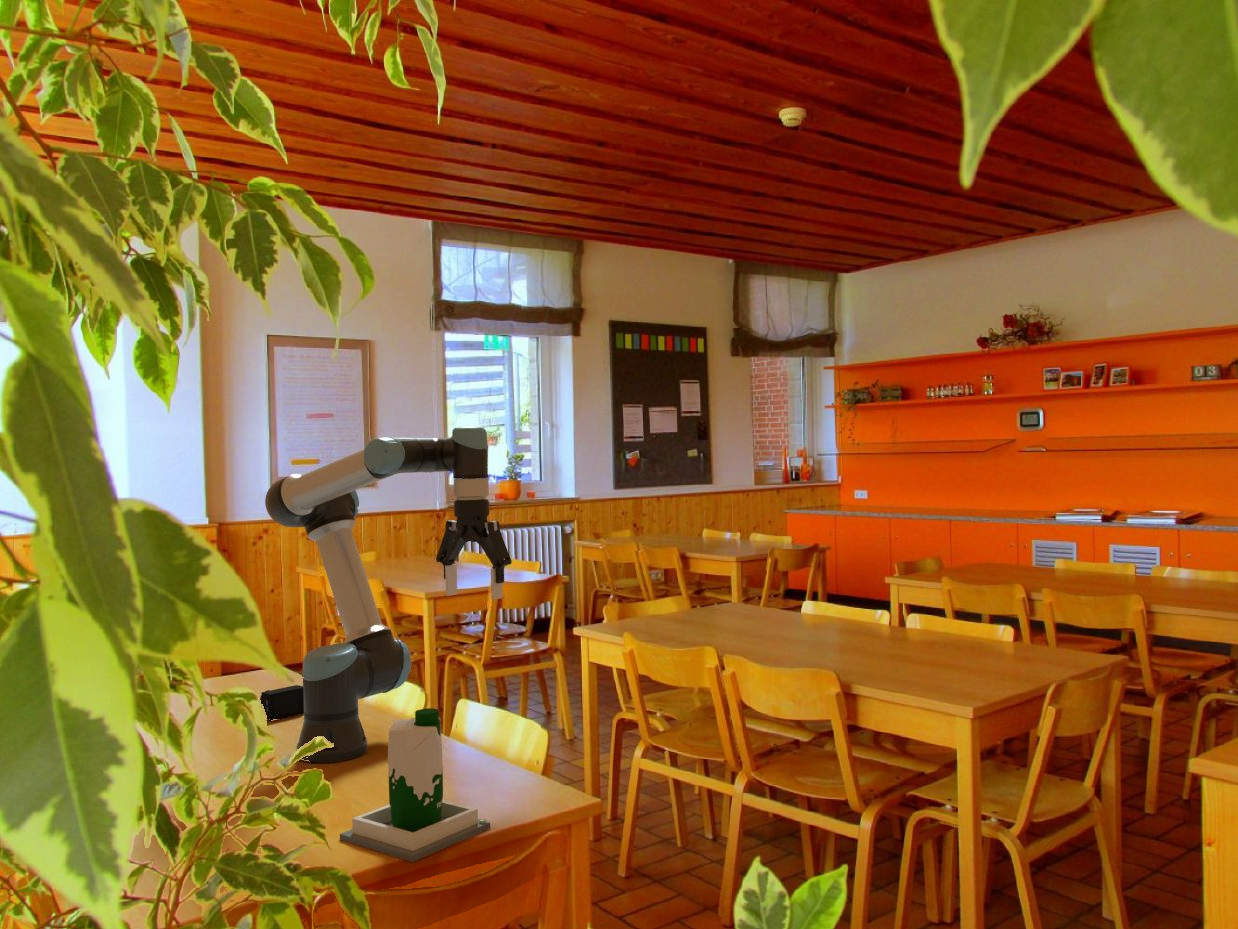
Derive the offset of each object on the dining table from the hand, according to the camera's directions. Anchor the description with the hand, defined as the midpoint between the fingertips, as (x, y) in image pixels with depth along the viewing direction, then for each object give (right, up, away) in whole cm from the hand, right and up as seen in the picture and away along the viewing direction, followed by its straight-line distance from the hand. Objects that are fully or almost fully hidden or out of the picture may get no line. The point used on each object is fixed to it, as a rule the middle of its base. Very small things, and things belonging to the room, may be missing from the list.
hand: (473, 596), depth 221 cm
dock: (-4, -35, -45) cm, 57 cm away
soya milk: (-3, -34, -45) cm, 56 cm away
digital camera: (-55, -36, +42) cm, 78 cm away
